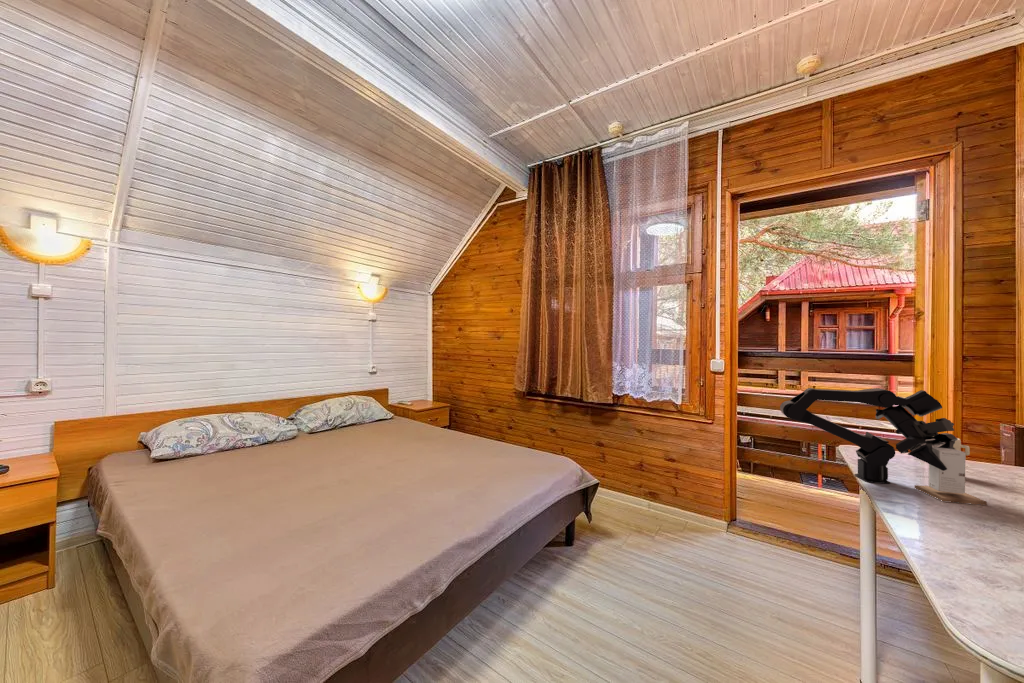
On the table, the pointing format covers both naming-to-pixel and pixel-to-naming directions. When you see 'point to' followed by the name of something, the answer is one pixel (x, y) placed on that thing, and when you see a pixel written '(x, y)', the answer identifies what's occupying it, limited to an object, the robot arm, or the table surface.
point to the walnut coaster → (951, 496)
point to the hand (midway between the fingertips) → (953, 468)
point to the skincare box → (948, 471)
